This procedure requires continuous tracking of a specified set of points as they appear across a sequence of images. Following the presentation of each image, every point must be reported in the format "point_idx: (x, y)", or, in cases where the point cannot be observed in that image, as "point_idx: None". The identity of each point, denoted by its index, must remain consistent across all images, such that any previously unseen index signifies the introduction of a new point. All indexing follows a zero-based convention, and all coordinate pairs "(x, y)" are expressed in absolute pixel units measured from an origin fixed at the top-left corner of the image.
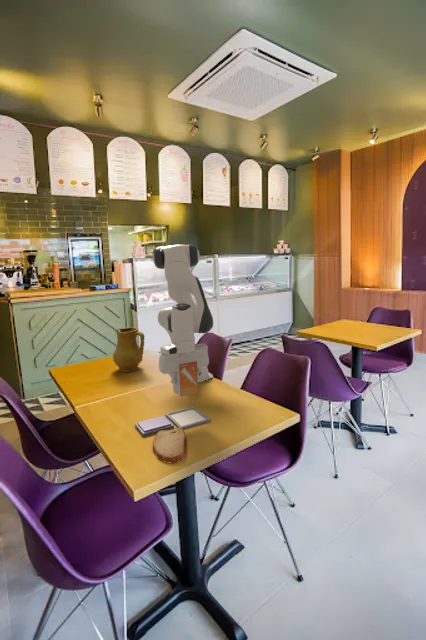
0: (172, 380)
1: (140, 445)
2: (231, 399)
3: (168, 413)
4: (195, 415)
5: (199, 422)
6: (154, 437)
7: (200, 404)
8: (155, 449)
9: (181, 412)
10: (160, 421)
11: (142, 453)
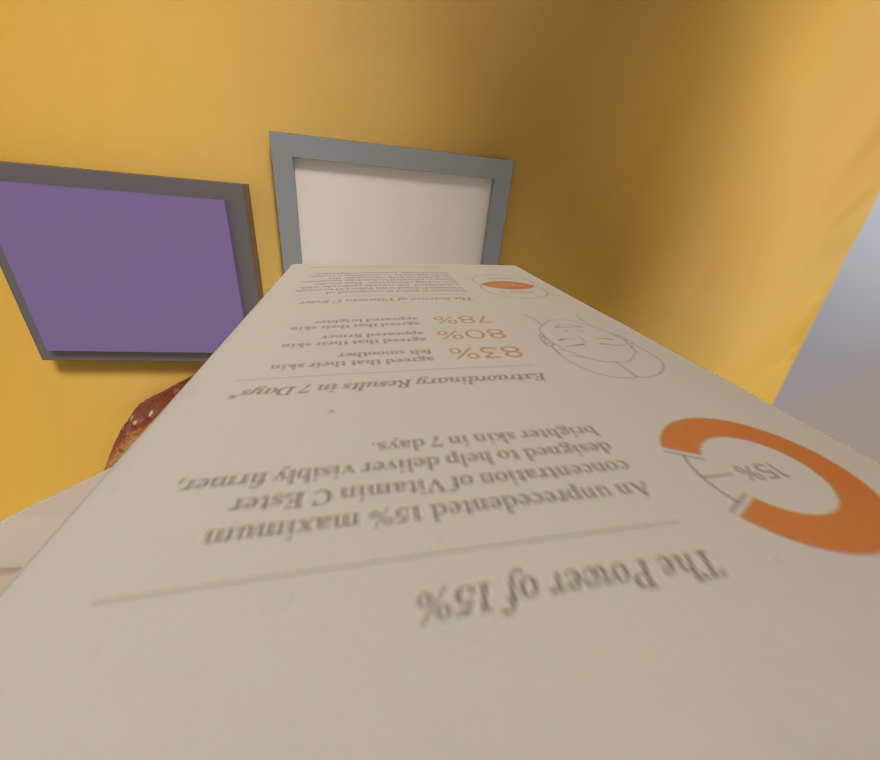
0: None
1: (39, 427)
2: (760, 203)
3: (295, 145)
4: None
5: None
6: (109, 460)
7: (586, 126)
8: None
9: (398, 180)
10: (185, 283)
11: (53, 490)
